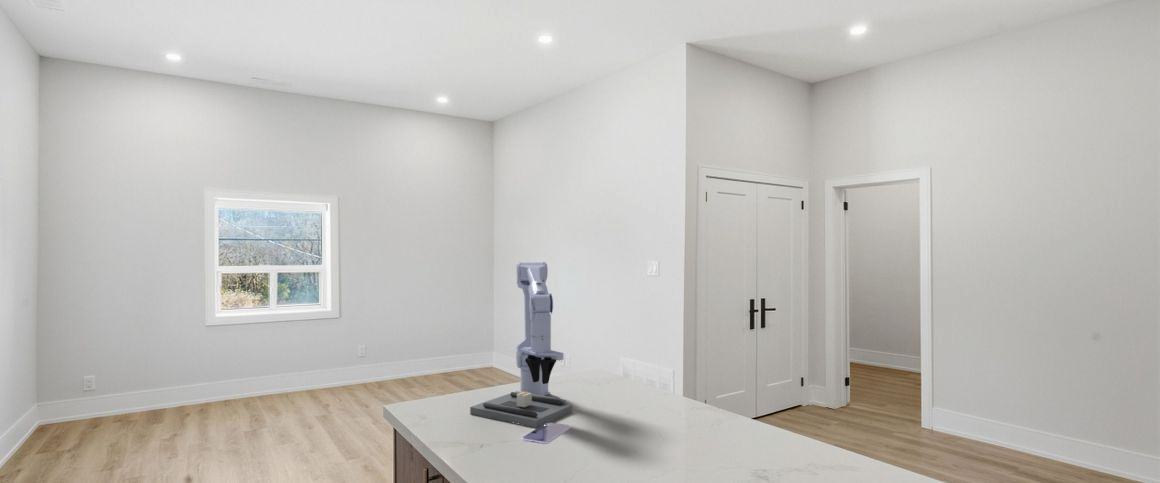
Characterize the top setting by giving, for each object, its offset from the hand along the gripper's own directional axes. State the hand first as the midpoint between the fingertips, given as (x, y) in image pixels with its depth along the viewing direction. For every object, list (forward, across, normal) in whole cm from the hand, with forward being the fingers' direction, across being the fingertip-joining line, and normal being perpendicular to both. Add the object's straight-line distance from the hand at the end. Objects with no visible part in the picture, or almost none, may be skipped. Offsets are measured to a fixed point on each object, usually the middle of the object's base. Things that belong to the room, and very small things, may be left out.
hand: (540, 382), depth 168 cm
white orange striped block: (+7, -6, 0) cm, 10 cm away
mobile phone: (+10, +10, -11) cm, 18 cm away
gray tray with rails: (+8, -7, +1) cm, 10 cm away
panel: (+10, -7, 0) cm, 12 cm away
